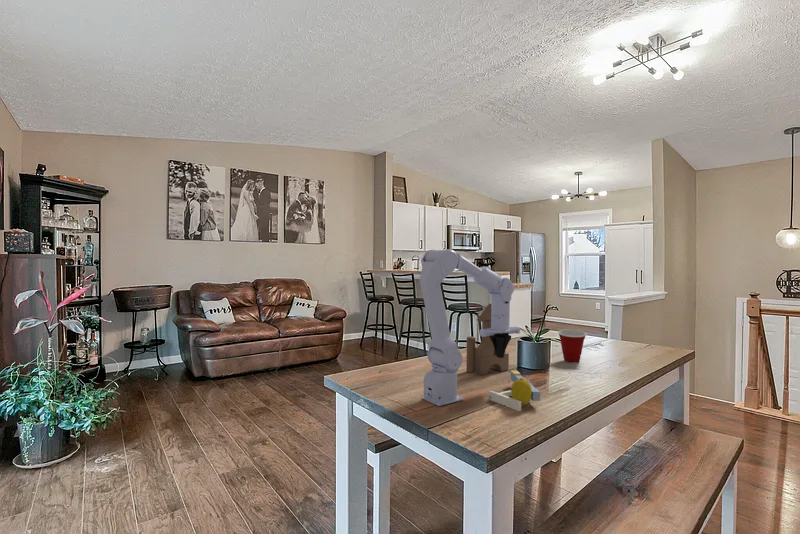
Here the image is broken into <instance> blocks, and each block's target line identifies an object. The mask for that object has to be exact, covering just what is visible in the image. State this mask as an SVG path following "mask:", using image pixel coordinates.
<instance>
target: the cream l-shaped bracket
mask: <svg viewBox="0 0 800 534" xmlns="http://www.w3.org/2000/svg"><path fill="white" fill-rule="evenodd" d="M510 396H511V397H510ZM488 400H489V401H491V402H495V403H496V404H500V405H501V406H504V405H505V406H504V407H507V408H509V409H512V410H515V411H516V412H521V411H522V406H521V401H519V400H516V399H513V398H512V395H511V389H509V390H505V391H501V392H496V391H495V390H494V391H493V390H488Z"/></svg>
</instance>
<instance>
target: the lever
mask: <svg viewBox="0 0 800 534" xmlns="http://www.w3.org/2000/svg"><path fill="white" fill-rule="evenodd" d="M520 378H523V379H524V380H526V381H527V382H528V383H529V384H530V386H531V390H532V396H531V399H530V401H533V402H535V401H536V402H540V401H541V392H540V390H539V389H537V388H536V387H535V385H533V384H532V383H531V380H529V379H527V378H525V377H523V375H521V372H520V371H518V370H510V381H512V383H514V382H515V381H516V380H518V379H520Z"/></svg>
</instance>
